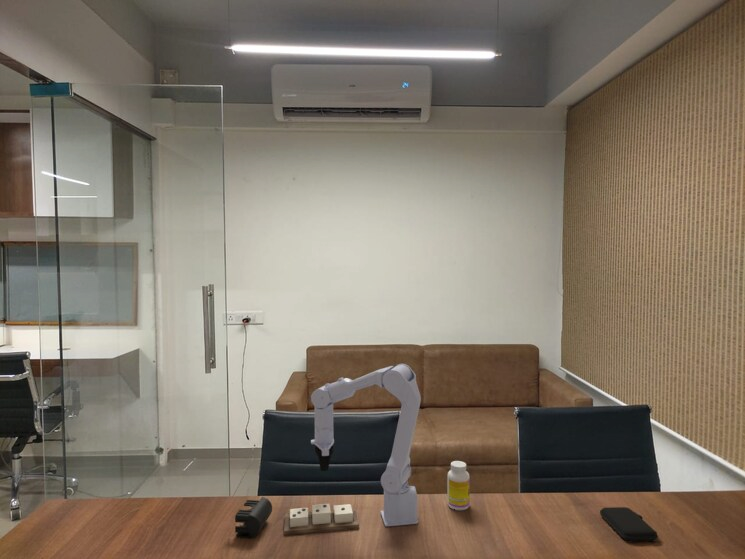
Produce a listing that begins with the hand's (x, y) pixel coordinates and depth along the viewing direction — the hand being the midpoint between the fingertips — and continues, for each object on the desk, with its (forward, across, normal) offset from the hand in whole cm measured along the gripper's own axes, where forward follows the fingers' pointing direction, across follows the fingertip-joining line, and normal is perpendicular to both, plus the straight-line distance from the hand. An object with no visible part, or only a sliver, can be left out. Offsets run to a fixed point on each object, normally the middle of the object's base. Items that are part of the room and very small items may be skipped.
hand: (324, 469), depth 144 cm
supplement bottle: (+11, +8, +40) cm, 42 cm away
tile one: (+10, +11, +5) cm, 16 cm away
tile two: (+9, +11, -1) cm, 14 cm away
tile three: (+10, +11, -8) cm, 17 cm away
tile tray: (+10, +11, -2) cm, 15 cm away
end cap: (+11, +11, -20) cm, 25 cm away
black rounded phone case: (+11, +27, +83) cm, 88 cm away
